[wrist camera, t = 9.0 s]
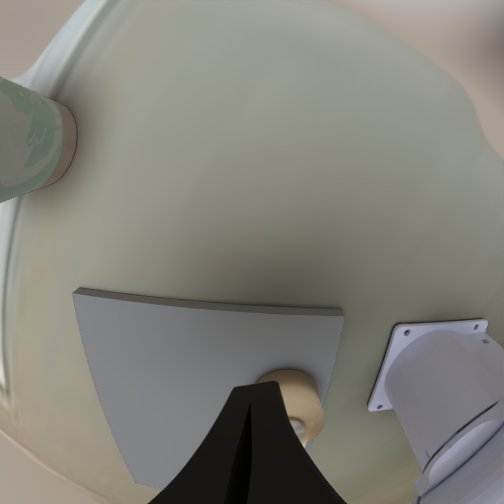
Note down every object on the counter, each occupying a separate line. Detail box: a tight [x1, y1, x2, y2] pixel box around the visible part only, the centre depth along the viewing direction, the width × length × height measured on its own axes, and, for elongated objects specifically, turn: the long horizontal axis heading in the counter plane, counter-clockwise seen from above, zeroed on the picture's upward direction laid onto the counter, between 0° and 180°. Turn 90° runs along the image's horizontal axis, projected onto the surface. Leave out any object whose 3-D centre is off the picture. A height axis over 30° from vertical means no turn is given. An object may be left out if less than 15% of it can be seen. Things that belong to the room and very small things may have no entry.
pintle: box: [289, 419, 305, 440], centre depth 15 cm, size 2×2×1 cm
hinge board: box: [72, 288, 345, 490], centre depth 20 cm, size 18×24×1 cm
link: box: [256, 370, 324, 448], centre depth 18 cm, size 16×4×3 cm, turn 175°
